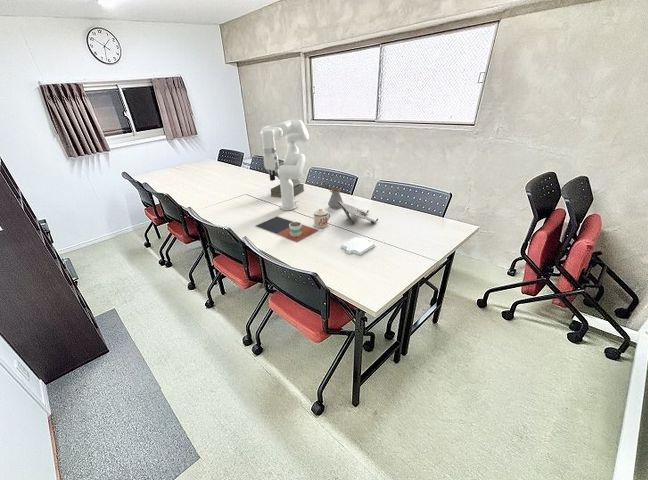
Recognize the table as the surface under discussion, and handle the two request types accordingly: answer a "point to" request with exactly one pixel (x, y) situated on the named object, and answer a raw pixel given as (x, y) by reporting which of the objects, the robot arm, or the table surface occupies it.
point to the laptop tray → (354, 212)
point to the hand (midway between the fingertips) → (272, 180)
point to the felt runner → (285, 228)
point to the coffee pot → (334, 198)
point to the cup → (295, 229)
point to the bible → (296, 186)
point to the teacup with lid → (320, 218)
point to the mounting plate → (357, 245)
